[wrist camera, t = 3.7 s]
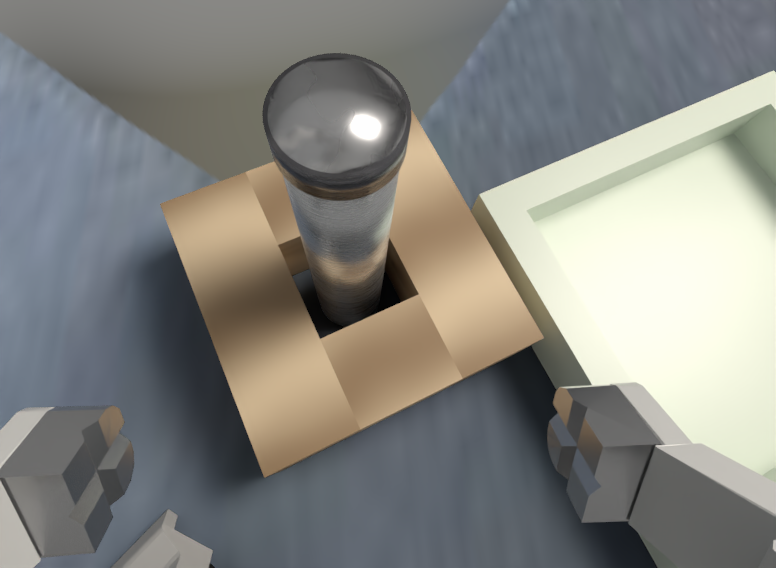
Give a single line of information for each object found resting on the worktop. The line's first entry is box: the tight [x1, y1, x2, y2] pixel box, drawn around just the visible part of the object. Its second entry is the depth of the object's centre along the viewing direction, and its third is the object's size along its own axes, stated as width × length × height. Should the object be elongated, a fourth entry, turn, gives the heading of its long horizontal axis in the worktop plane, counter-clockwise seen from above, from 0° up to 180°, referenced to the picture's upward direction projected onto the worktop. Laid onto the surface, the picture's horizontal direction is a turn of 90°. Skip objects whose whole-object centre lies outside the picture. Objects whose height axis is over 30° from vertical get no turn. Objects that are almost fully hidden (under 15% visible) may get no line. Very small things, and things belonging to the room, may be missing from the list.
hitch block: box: [160, 110, 544, 478], centre depth 22 cm, size 12×12×4 cm
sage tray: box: [471, 71, 776, 568], centre depth 23 cm, size 18×18×4 cm
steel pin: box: [263, 53, 411, 327], centre depth 17 cm, size 3×3×14 cm
